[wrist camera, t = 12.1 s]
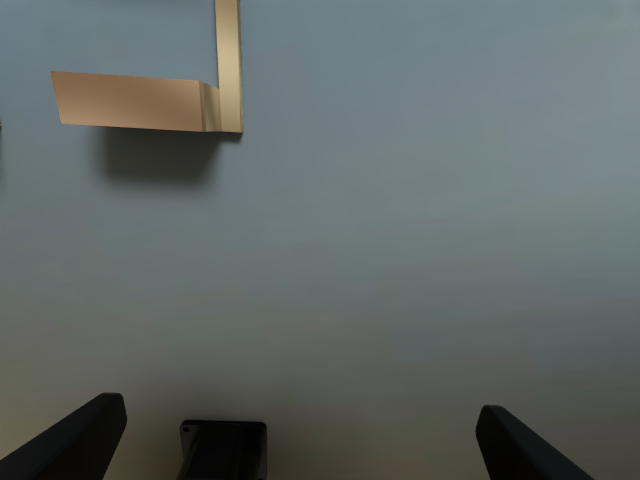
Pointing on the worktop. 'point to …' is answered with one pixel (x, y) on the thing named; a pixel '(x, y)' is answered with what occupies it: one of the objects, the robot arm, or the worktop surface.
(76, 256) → the worktop surface
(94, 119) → the wooden joined piece
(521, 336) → the worktop surface
